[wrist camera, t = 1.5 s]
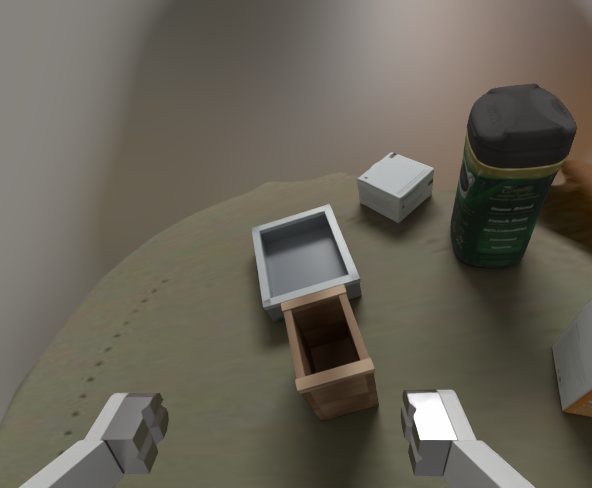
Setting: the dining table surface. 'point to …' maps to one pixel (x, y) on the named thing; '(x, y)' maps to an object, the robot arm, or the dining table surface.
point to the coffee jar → (507, 172)
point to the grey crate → (302, 259)
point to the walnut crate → (329, 354)
